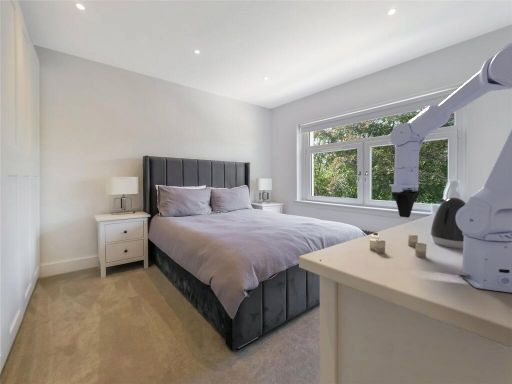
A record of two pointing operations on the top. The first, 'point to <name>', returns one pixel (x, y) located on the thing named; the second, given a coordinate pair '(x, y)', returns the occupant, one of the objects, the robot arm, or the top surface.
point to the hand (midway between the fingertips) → (404, 216)
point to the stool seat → (412, 242)
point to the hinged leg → (373, 241)
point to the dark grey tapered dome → (447, 224)
